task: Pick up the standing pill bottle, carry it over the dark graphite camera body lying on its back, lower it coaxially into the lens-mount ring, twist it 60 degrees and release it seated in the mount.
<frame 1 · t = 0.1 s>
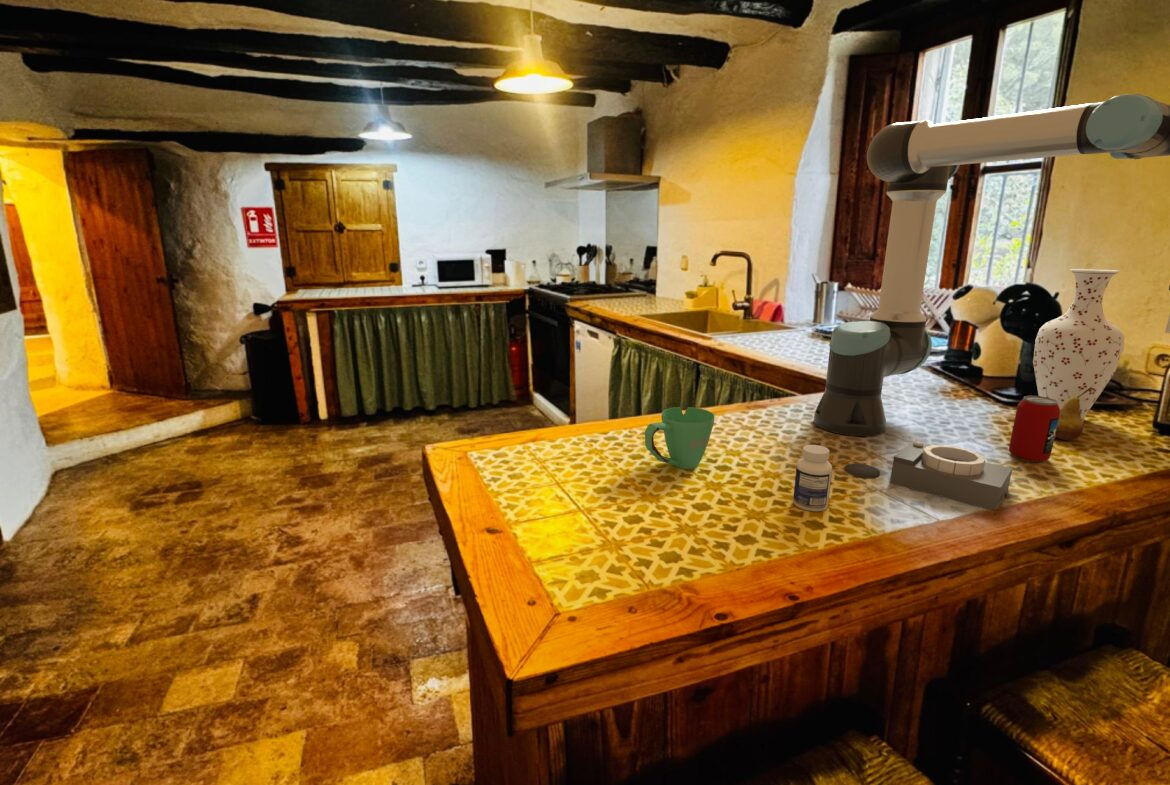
camera body: (948, 486, 105), on the counter
pill bottle: (809, 506, 98), on the counter
mug: (675, 467, 113), on the counter
fruit: (1063, 440, 130), on the counter
vase: (1061, 418, 145), on the counter
lens cap: (861, 473, 112), on the counter
beverage can: (1027, 458, 119), on the counter
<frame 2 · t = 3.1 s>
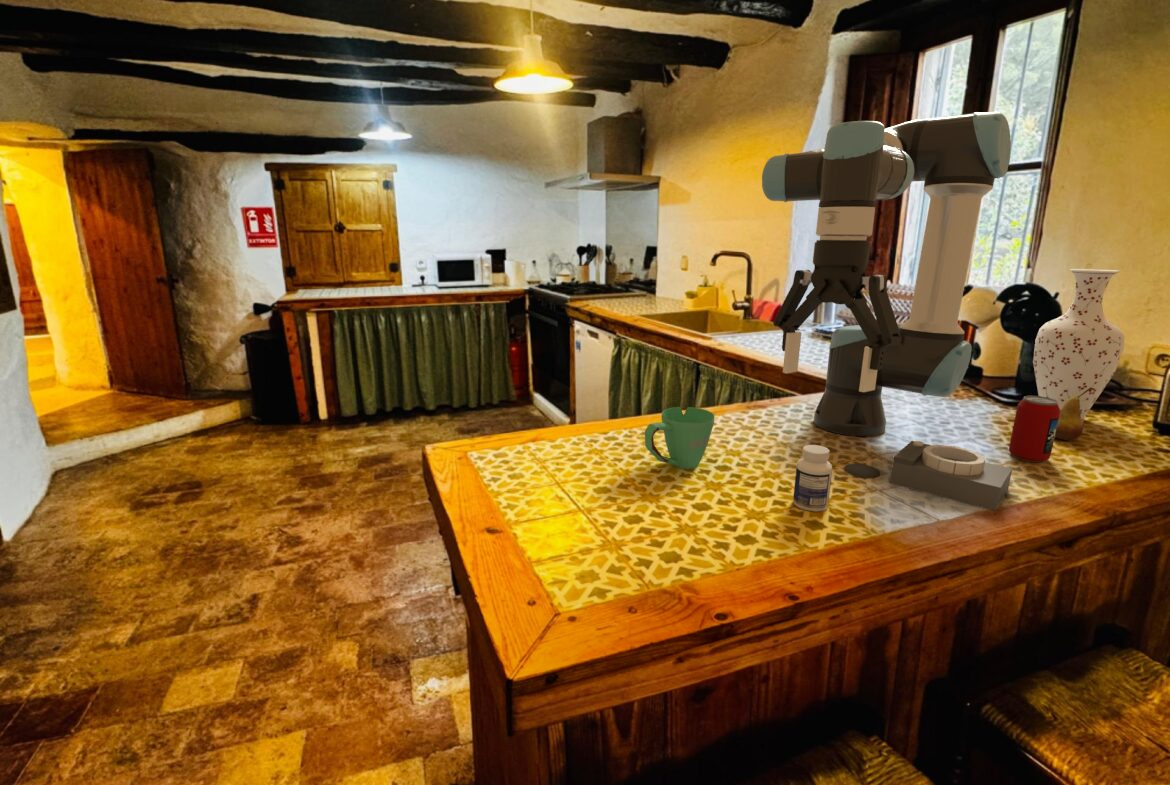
hand: (826, 381, 92), 21 cm above the counter, fingers open, 13 cm apart
nothing on the counter moved.
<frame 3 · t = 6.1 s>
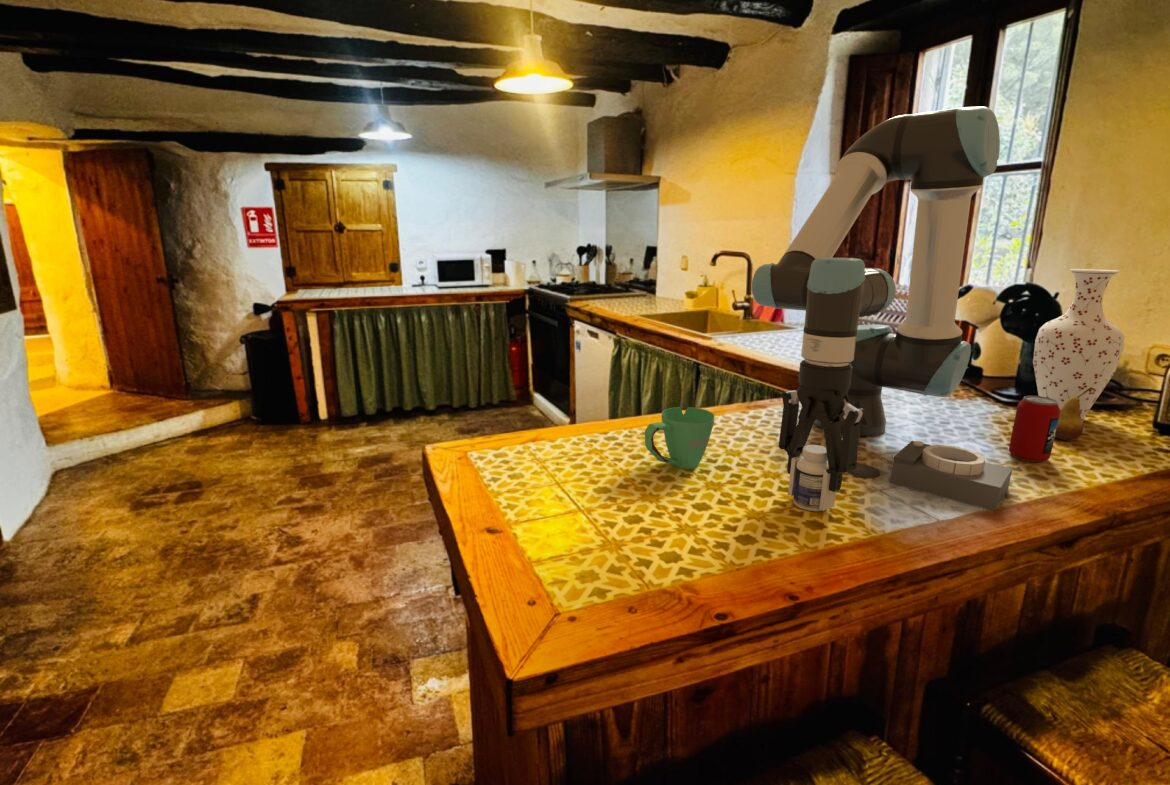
hand: (810, 500, 98), 1 cm above the counter, fingers closed on pill bottle, 5 cm apart
pill bottle: (809, 506, 98), on the counter, touching gripper
everything else where it was.
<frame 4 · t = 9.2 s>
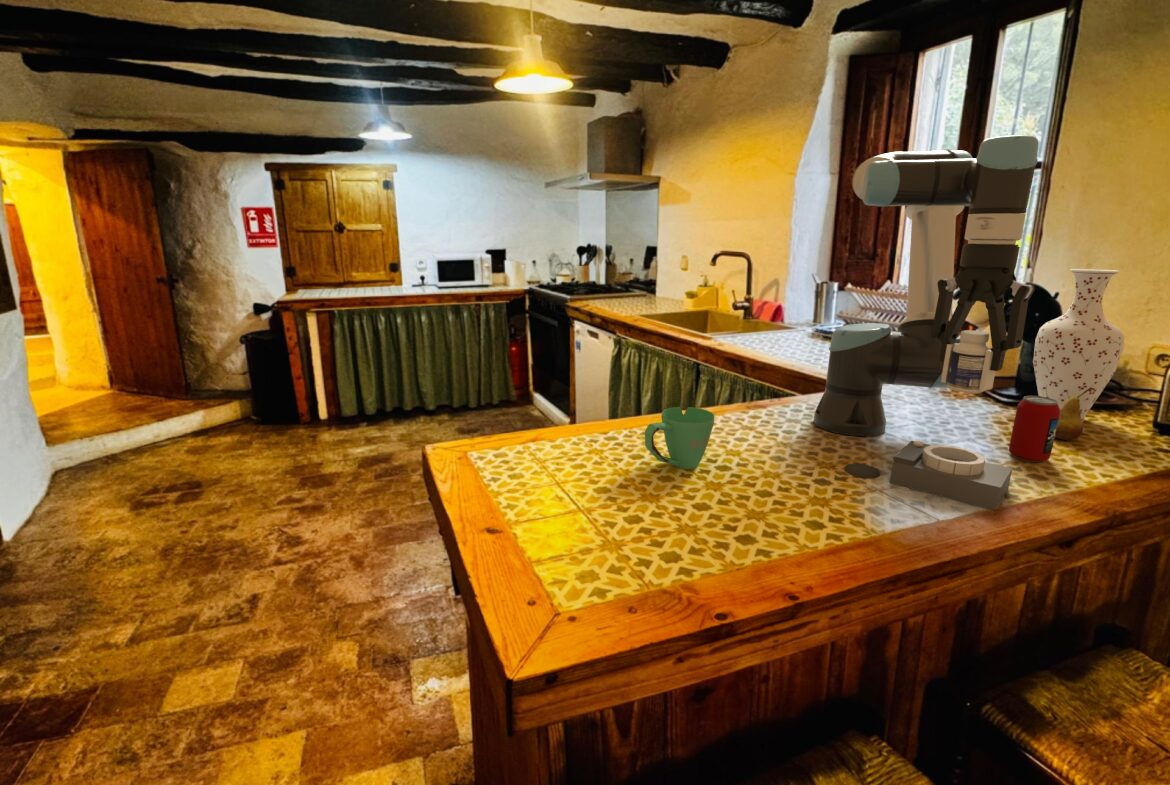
hand: (966, 384, 101), 18 cm above the counter, fingers closed on pill bottle, 5 cm apart
pill bottle: (964, 390, 101), point 17 cm above the counter, touching gripper
everything else where it was.
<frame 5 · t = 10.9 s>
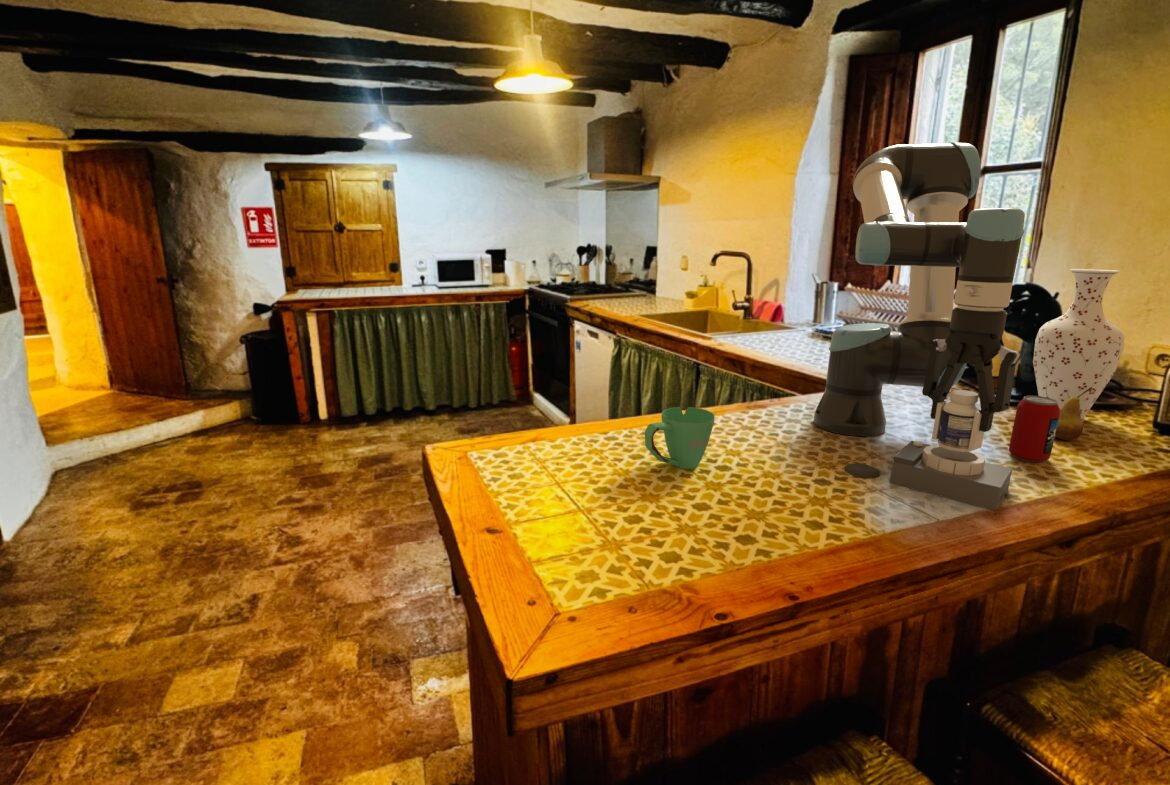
hand: (956, 442, 103), 8 cm above the counter, fingers closed on pill bottle, 5 cm apart
pill bottle: (954, 448, 103), point 7 cm above the counter, touching gripper
everything else where it was.
when the fingers open (7 cm above the counter, at t = 12.5 s): pill bottle drops 2 cm, resting on camera body.
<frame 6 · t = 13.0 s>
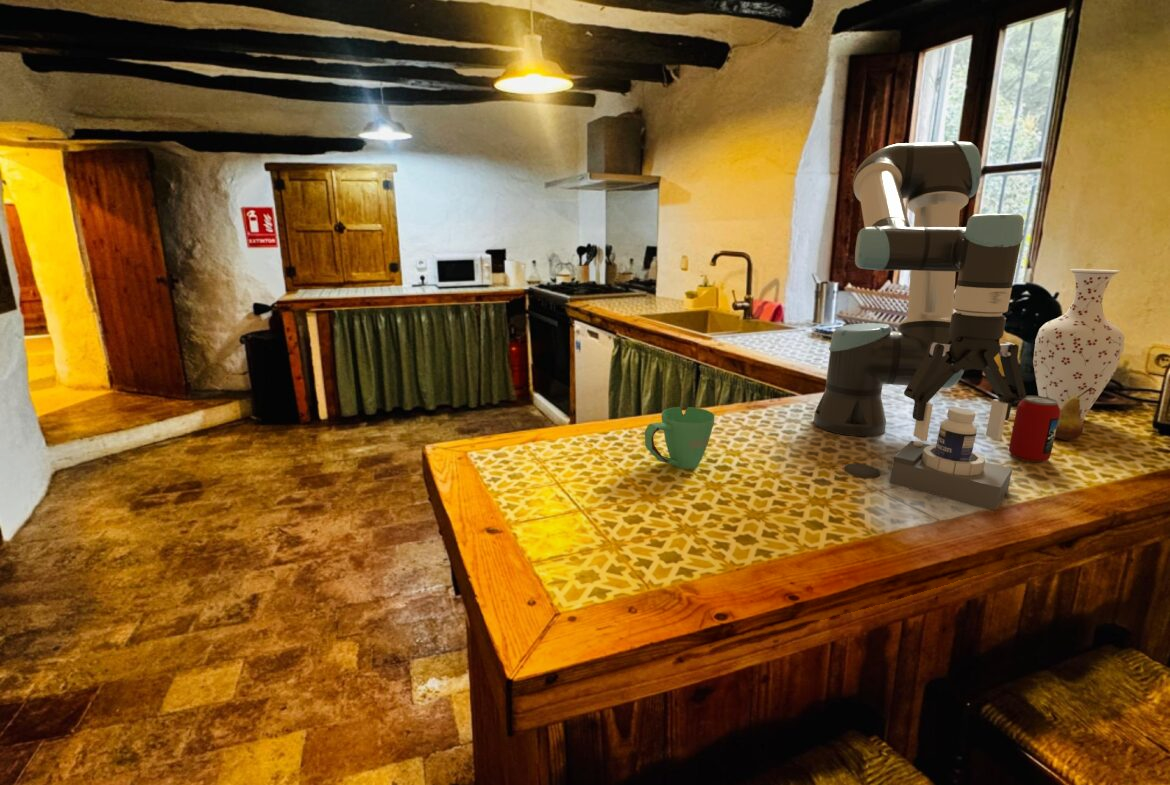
hand: (956, 438, 103), 9 cm above the counter, fingers open, 12 cm apart
pill bottle: (950, 465, 104), point 4 cm above the counter, touching camera body
everything else where it was.
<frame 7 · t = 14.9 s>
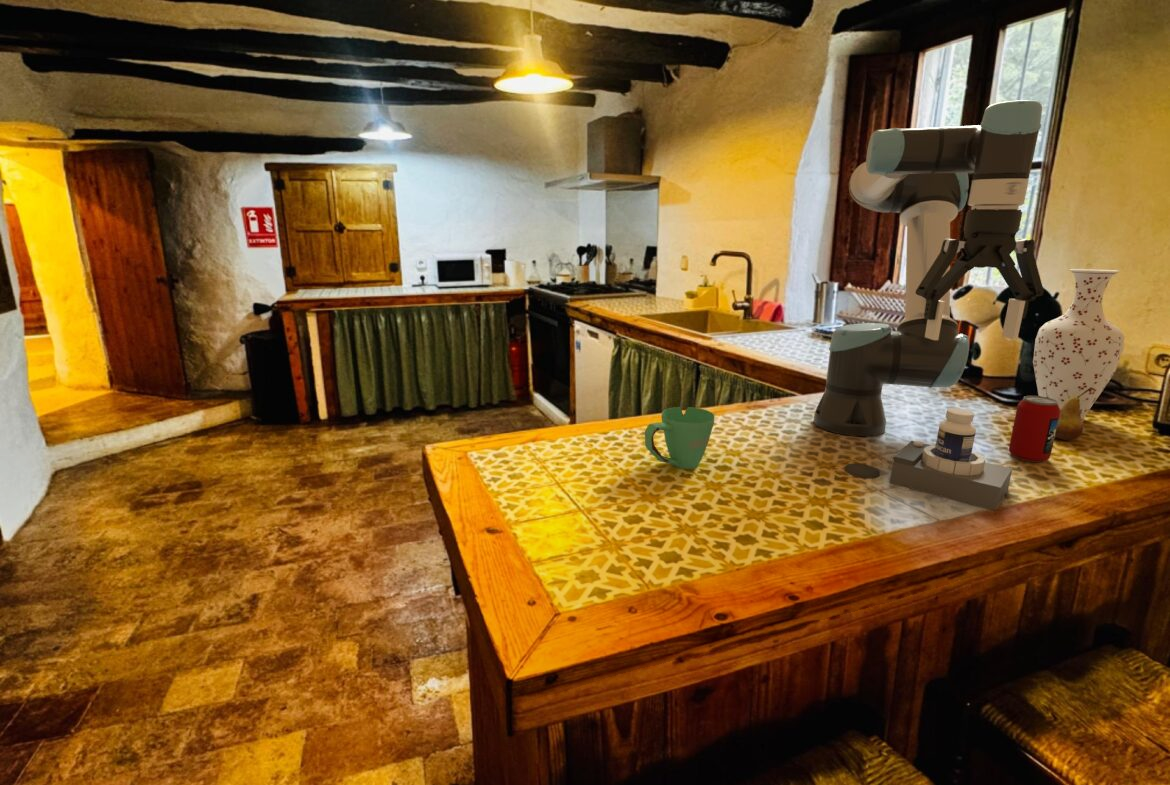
hand: (970, 338, 102), 26 cm above the counter, fingers open, 13 cm apart
nothing on the counter moved.
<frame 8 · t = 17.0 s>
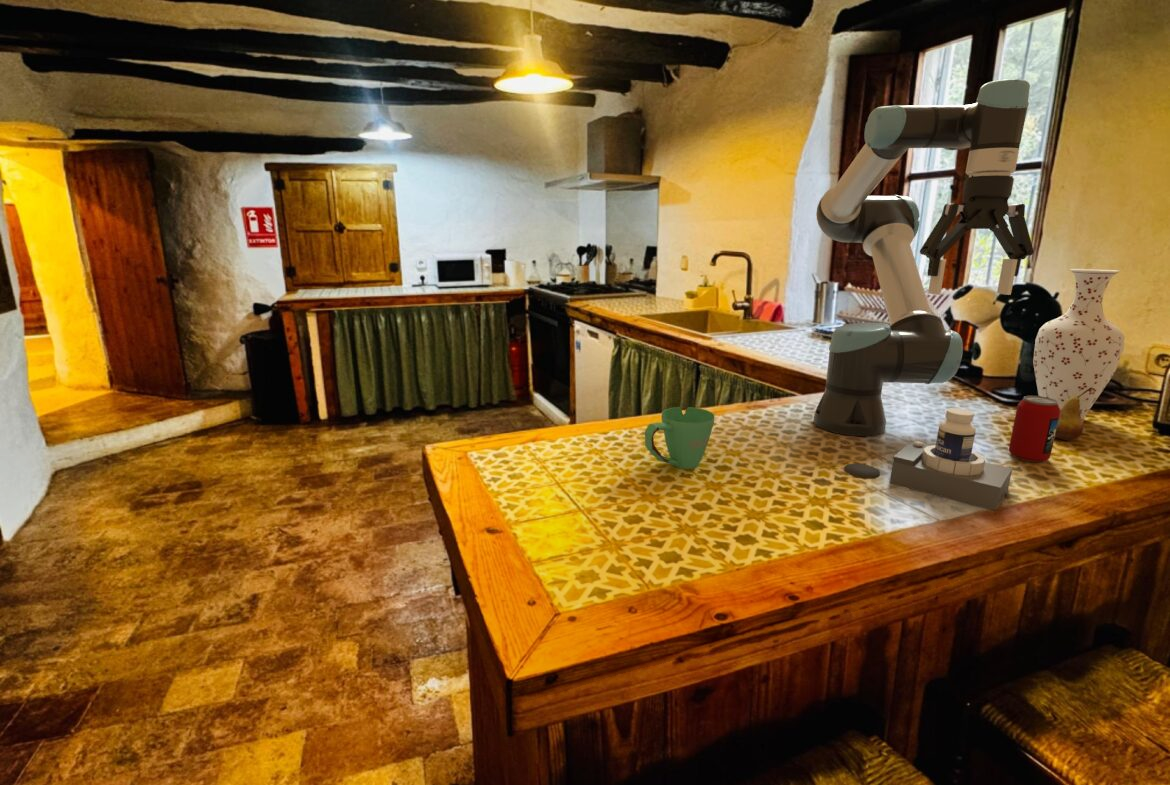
hand: (969, 294, 114), 32 cm above the counter, fingers open, 13 cm apart
nothing on the counter moved.
at the end: pill bottle 0.3 cm off-centre on the camera body, point 3.8 cm above the camera body's base; pill bottle tilted 0°; the gripper is holding nothing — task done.
